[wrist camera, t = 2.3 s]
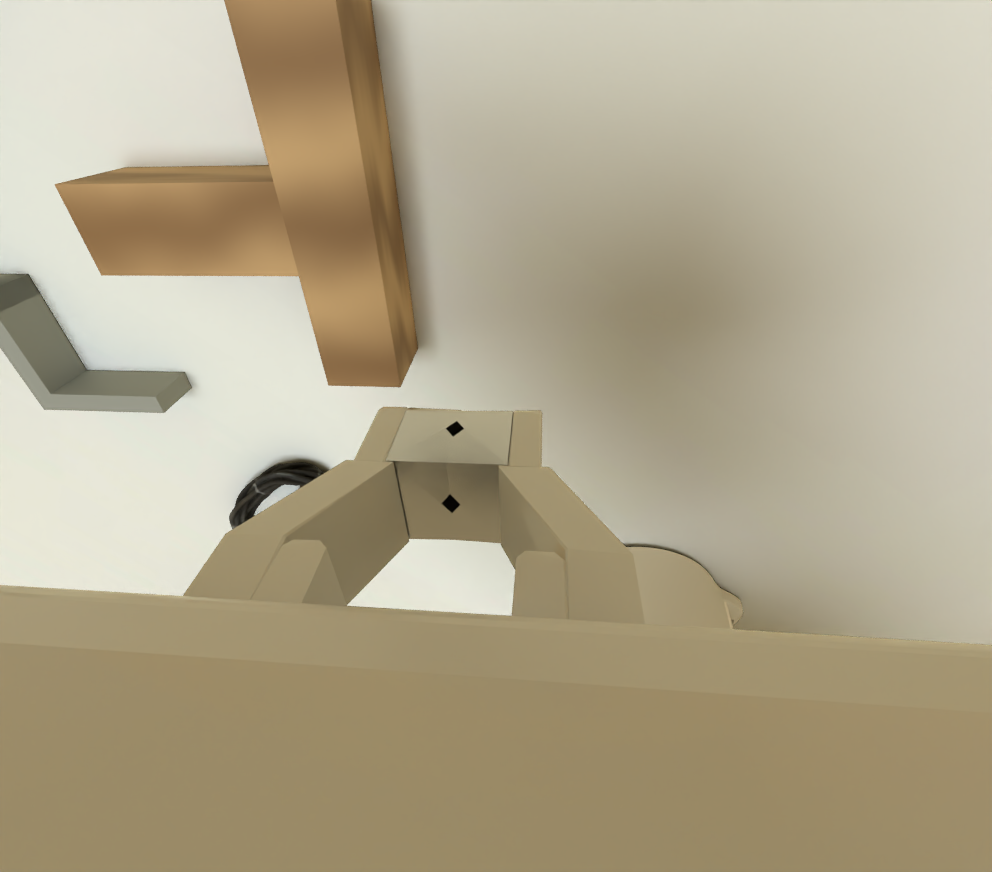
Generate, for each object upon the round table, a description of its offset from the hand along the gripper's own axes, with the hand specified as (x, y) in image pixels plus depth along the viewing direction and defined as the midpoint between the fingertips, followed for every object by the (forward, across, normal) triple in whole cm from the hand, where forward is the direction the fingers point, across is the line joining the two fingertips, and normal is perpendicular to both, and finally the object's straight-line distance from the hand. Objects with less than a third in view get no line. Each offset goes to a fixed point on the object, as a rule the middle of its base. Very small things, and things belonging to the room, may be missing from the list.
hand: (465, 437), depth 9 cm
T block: (+19, +12, 0) cm, 23 cm away
